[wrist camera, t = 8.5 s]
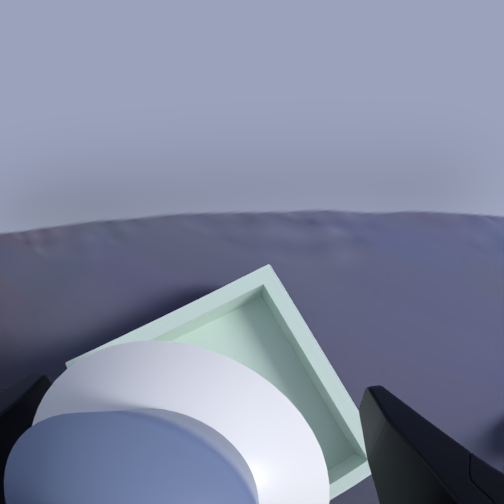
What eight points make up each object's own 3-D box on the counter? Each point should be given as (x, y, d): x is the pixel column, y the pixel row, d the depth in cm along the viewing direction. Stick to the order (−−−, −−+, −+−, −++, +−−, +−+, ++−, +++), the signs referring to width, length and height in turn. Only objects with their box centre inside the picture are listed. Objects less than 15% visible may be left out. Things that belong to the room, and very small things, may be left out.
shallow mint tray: (187, 531, 13) (172, 562, 9) (100, 371, 18) (65, 362, 14) (359, 449, 16) (388, 461, 12) (264, 291, 20) (269, 263, 16)
